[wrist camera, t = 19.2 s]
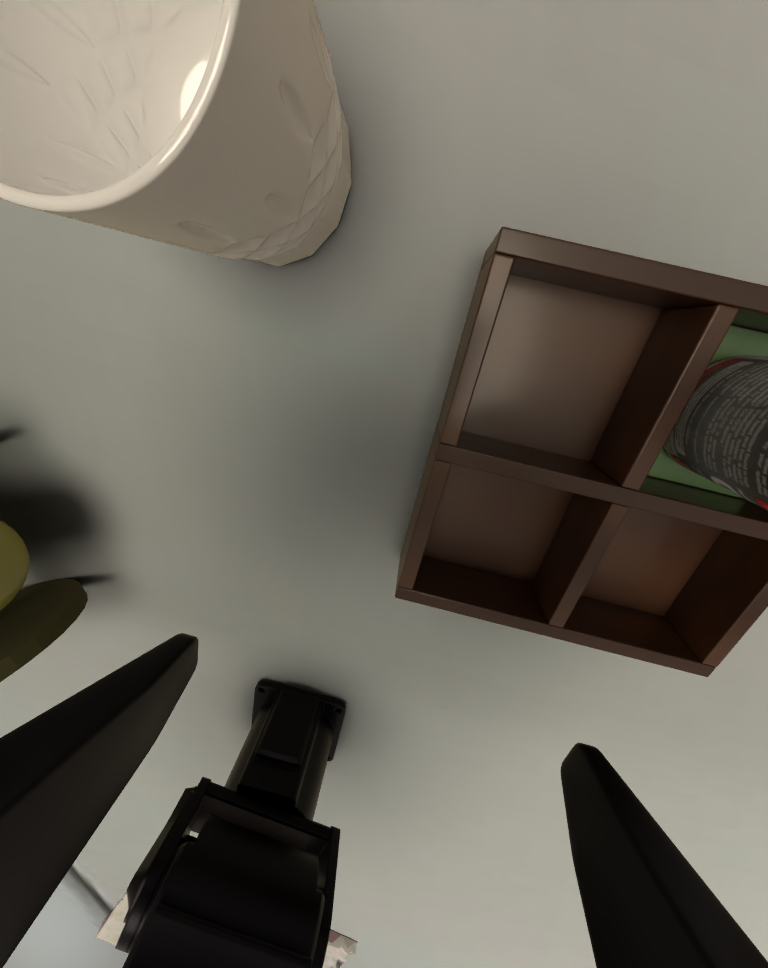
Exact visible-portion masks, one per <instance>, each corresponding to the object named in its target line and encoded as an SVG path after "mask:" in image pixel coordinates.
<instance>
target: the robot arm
mask: <svg viewBox="0 0 768 968" xmlns="http://www.w3.org/2000/svg"><path fill="white" fill-rule="evenodd" d="M197 661H198V639H197V637H195V636H191V635H187V634H183V633H181V634H178V635H176V636H174V637H172V638H170V639H169V640H167V641H165V642H164V643H162V644H160V645H158V646H157V647H155V648H153V649H152V650H150V651H148V652H147V653H145V654H143V655H141V656H140V657H138V658H136V659H135V660H133V661H131V662H129V663H128V664H126V665H124V666H123V667H121V668H119V669H118V670H116V671H114V672H112V673H111V674H109V675H107V676H106V677H104V678H102V679H100V680H99V681H97V682H95V683H94V684H92V685H90V686H88V687H87V688H85V689H83V690H82V691H80V692H78V693H77V694H75V695H73V696H71V697H70V698H68V699H66V700H65V701H63V702H61V703H59V704H58V705H56V706H54V707H53V708H51V709H49V710H48V711H46V712H44V713H42V714H41V715H39V716H37V717H36V718H34V719H32V720H30V721H29V722H27V723H25V724H24V725H22V726H20V727H18V728H17V729H15V730H13V731H12V732H10V733H8V734H7V735H5V736H3V737H1V738H0V968H3V966H4V965H5V963H6V962H7V960H8V959H9V957H10V956H11V954H12V953H13V951H14V950H15V948H16V947H17V945H18V944H19V942H20V941H21V939H22V938H23V937H24V935H25V934H26V932H27V931H28V929H29V928H30V926H31V925H32V923H33V921H34V920H35V919H36V917H37V916H38V914H39V913H40V911H41V910H42V909H43V907H44V905H45V904H46V903H47V901H48V900H49V898H50V897H51V895H52V893H53V892H54V891H55V889H56V888H57V886H58V885H59V883H60V882H61V880H62V879H63V878H64V876H65V875H66V873H67V872H68V870H69V869H70V867H71V866H72V864H73V863H74V861H75V860H76V858H77V857H78V855H79V854H80V852H81V851H82V850H83V848H84V847H85V845H86V844H87V842H88V841H89V839H90V838H91V836H92V835H93V833H94V832H95V830H96V829H97V827H98V826H99V824H100V823H101V821H102V820H103V819H104V817H105V816H106V814H107V813H108V811H109V810H110V808H111V807H112V805H113V804H114V802H115V801H116V799H117V798H118V796H119V795H120V793H121V792H122V790H123V789H124V788H125V786H126V785H127V783H128V782H129V780H130V779H131V777H132V776H133V774H134V773H135V771H136V770H137V768H138V767H139V765H140V764H141V762H142V761H143V759H144V758H145V757H146V755H147V754H148V752H149V750H150V749H151V747H152V746H153V744H154V743H155V741H156V739H157V738H158V736H159V734H160V732H161V731H162V729H163V727H164V725H165V723H166V722H167V720H168V718H169V716H170V714H171V713H172V711H173V709H174V707H175V705H176V704H177V702H178V700H179V698H180V696H181V695H182V693H183V691H184V689H185V687H186V686H187V684H188V682H189V680H190V678H191V677H192V675H193V673H194V671H195V669H196V666H197ZM345 710H346V704H345V703H344V702H343V701H340V700H336V699H333V698H329V697H325V696H321V695H318V694H314V693H310V692H306V691H302V690H299V689H295V688H291V687H287V686H284V685H280V684H276V683H272V682H268V681H264V680H261V681H259V682H258V684H257V686H256V688H255V696H254V706H253V716H252V726H251V730H250V732H249V734H248V736H247V739H246V741H245V743H244V745H243V747H242V749H241V752H240V754H239V756H238V758H237V760H236V763H235V765H234V767H233V769H232V771H231V774H230V776H229V778H228V780H227V782H226V785H225V787H223V786H220V785H218V784H215V783H213V782H211V779H208V778H205V777H202V779H201V781H200V783H199V784H198V786H196V787H193V788H186V789H185V791H184V793H183V795H182V796H181V798H180V800H179V802H178V804H177V806H176V808H175V809H174V811H173V813H172V815H171V817H170V818H169V820H168V822H167V824H166V825H165V827H164V829H163V830H162V832H161V834H160V835H159V837H158V838H157V840H156V842H155V843H154V845H153V846H152V848H151V850H150V851H149V853H148V854H147V856H146V857H145V859H144V861H143V862H142V864H141V865H140V867H139V869H138V870H137V872H136V873H135V875H134V877H133V879H132V881H131V882H130V884H129V886H128V889H127V899H128V911H127V914H126V916H125V918H124V921H123V923H126V924H125V926H124V928H123V930H122V932H121V935H120V937H119V939H118V942H117V944H116V947H115V948H116V949H118V950H121V951H124V952H127V953H129V955H128V957H127V959H126V962H125V964H124V966H123V968H323V964H324V960H325V955H326V950H327V945H328V940H329V934H330V928H331V920H332V910H333V900H334V890H335V880H336V869H337V859H338V849H339V839H340V829H338V828H336V827H333V826H331V828H330V827H327V826H325V825H322V824H319V823H317V822H314V821H313V817H314V813H315V809H316V805H317V801H318V797H319V792H320V788H321V784H322V780H323V776H324V772H325V768H326V764H327V761H332V760H333V757H334V753H335V749H336V745H337V741H338V738H339V734H340V730H341V726H342V722H343V718H344V715H345ZM561 780H562V787H563V794H564V801H565V808H566V815H567V823H568V830H569V837H570V844H571V850H572V856H573V862H574V867H575V872H576V877H577V881H578V886H579V890H580V895H581V899H582V904H583V908H584V913H585V917H586V922H587V926H588V931H589V935H590V940H591V944H592V949H593V953H594V958H595V962H596V967H597V968H768V962H767V960H766V959H765V958H764V957H763V955H762V954H761V953H760V952H759V950H758V949H757V948H756V947H755V945H754V944H753V943H752V942H751V940H750V939H749V938H748V936H747V935H746V934H745V933H744V931H743V930H742V929H741V928H740V926H739V925H738V924H737V923H736V921H735V920H734V919H733V918H732V916H731V915H730V914H729V913H728V911H727V910H726V909H725V908H724V906H723V905H722V904H721V903H720V901H719V900H718V899H717V898H716V896H715V895H714V894H713V893H712V891H711V890H710V889H709V887H708V886H707V885H706V884H705V882H704V881H703V880H702V879H701V877H700V876H699V875H698V874H697V872H696V871H695V870H694V869H693V867H692V866H691V865H690V864H689V862H688V861H687V860H686V859H685V857H684V856H683V855H682V854H681V852H680V851H679V850H678V849H677V847H676V846H675V845H674V844H673V842H672V841H671V840H670V838H669V837H668V836H667V835H666V833H665V832H664V831H663V830H662V828H661V827H660V826H659V825H658V823H657V822H656V821H655V820H654V818H653V817H652V816H651V815H650V813H649V812H648V811H647V810H646V808H645V807H644V806H643V805H642V803H641V802H640V801H639V800H638V798H637V797H636V796H635V795H634V793H633V792H632V791H631V789H630V788H629V787H628V786H627V784H626V783H625V782H624V781H623V779H622V778H621V777H620V776H619V774H618V773H617V772H616V771H615V769H614V768H613V767H612V766H611V764H610V763H609V762H608V761H607V759H606V758H605V757H604V756H603V754H602V753H601V752H600V751H599V750H598V749H597V748H595V747H593V746H590V745H586V744H583V743H577V744H575V745H574V747H573V748H572V750H571V751H570V752H569V754H568V755H567V757H566V758H565V759H564V761H563V763H562V766H561ZM190 831H194V832H197V833H199V835H198V837H197V838H195V837H193V836H190V835H189V834H190Z"/></svg>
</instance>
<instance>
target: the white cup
mask: <svg viewBox="0 0 768 968" xmlns="http://www.w3.org/2000/svg"><path fill="white" fill-rule="evenodd" d="M351 183H352V178H351V160H350V141H349V130H348V126H347V123H346V120H345V117H344V114H343V111H342V108H341V105H340V102H339V97H338V92H337V87H336V82H335V77H334V72H333V67H332V64H331V60H330V57H329V53H328V50H327V46H326V43H325V40H324V36H323V33H322V28H321V24H320V20H319V16H318V13H317V9H316V5H315V1H314V0H0V198H1V199H3V200H6V201H9V202H12V203H15V204H18V205H21V206H24V207H28V208H32V209H36V210H40V211H44V212H48V213H52V214H56V215H60V216H64V217H67V218H71V219H75V220H79V221H83V222H87V223H91V224H94V225H98V226H102V227H106V228H110V229H113V230H117V231H121V232H125V233H128V234H132V235H136V236H140V237H143V238H147V239H151V240H155V241H158V242H162V243H166V244H170V245H173V246H177V247H181V248H185V249H189V250H193V251H197V252H201V253H204V254H210V255H217V256H221V257H225V258H229V259H244V260H249V261H254V262H259V263H263V264H268V265H273V266H278V267H280V266H283V265H286V264H288V263H291V262H294V261H297V260H300V259H303V258H306V257H309V256H311V255H313V254H314V253H315V251H316V250H317V249H318V248H319V247H320V246H321V245H322V244H323V242H324V241H325V240H326V239H327V238H328V237H329V236H330V235H331V233H332V232H333V231H334V230H335V229H336V228H337V227H338V225H339V221H340V218H341V215H342V212H343V209H344V205H345V202H346V199H347V196H348V193H349V190H350V186H351Z"/></svg>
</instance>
